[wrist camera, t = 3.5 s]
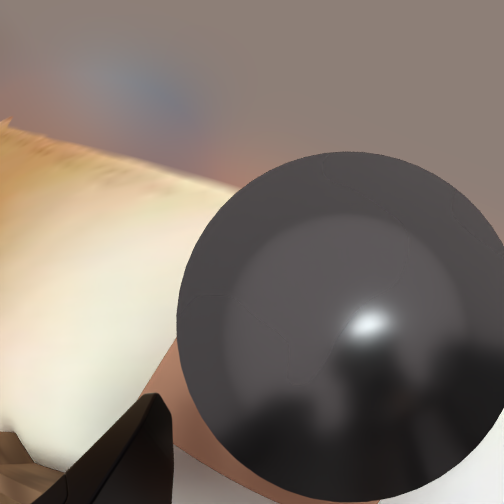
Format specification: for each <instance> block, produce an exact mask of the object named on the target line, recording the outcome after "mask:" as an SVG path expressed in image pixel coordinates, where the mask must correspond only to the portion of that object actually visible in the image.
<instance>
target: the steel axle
mask: <svg viewBox="0 0 504 504" xmlns="http://www.w3.org/2000/svg"><path fill="white" fill-rule="evenodd" d="M176 317H177V345H178V351H179V358H180V364H181V368H182V372H183V375H184V378H185V381H186V384H187V387H188V390H189V393H190V395H191V397H192V399H193V401H194V403H195V406H196V408H197V410H198V412H199V414H200V415H201V417H202V419H203V420H204V422H205V423H206V425H207V426H208V428H209V429H210V430H211V432H212V433H213V435H214V436H215V437H216V439H217V440H218V441H219V442H220V443H221V444H222V445H223V446H224V447H225V449H226V450H227V451H228V452H229V453H230V454H231V455H232V456H233V457H234V458H235V459H236V460H237V461H239V462H240V463H241V464H243V465H244V466H245V467H247V468H248V469H249V470H251V471H252V472H253V473H255V474H256V475H258V476H259V477H261V478H262V479H264V480H266V481H268V482H270V483H272V484H274V485H276V486H278V487H280V488H282V489H284V490H287V491H290V492H292V493H296V494H299V495H302V496H305V497H308V498H312V499H318V500H324V501H331V502H369V501H376V500H381V499H387V498H392V497H395V496H398V495H401V494H404V493H407V492H410V491H413V490H416V489H418V488H420V487H422V486H424V485H426V484H428V483H430V482H432V481H434V480H435V479H437V478H439V477H441V476H442V475H444V474H445V473H446V472H448V471H449V470H451V469H452V468H453V467H455V466H456V465H457V464H459V463H460V462H461V461H462V460H463V459H464V458H466V457H467V456H468V455H469V454H470V453H471V452H472V451H473V450H474V449H475V448H476V447H477V446H478V445H479V443H480V442H481V441H482V440H483V438H484V437H485V436H486V435H487V433H488V432H489V431H490V429H491V428H492V427H493V425H494V424H495V422H496V420H497V419H498V417H499V415H500V414H501V412H502V410H503V408H504V246H503V244H502V242H501V240H500V239H499V237H498V236H497V234H496V232H495V231H494V229H493V228H492V226H491V225H490V224H489V222H488V221H487V220H486V218H485V217H484V216H483V215H482V213H481V212H480V211H479V210H478V209H477V208H476V207H475V206H474V205H473V204H472V203H471V202H470V201H469V200H468V199H467V198H466V197H465V196H464V195H463V194H462V193H460V192H459V191H458V190H457V189H455V188H454V187H453V186H452V185H450V184H449V183H447V182H446V181H444V180H443V179H441V178H440V177H438V176H436V175H435V174H433V173H431V172H429V171H427V170H425V169H423V168H421V167H419V166H416V165H413V164H411V163H408V162H406V161H403V160H400V159H396V158H392V157H388V156H384V155H379V154H372V153H365V152H333V153H323V154H318V155H313V156H308V157H304V158H301V159H297V160H294V161H291V162H288V163H286V164H283V165H281V166H279V167H276V168H274V169H272V170H270V171H268V172H266V173H264V174H263V175H261V176H260V177H258V178H256V179H254V180H253V181H251V182H250V183H249V184H247V185H246V186H245V187H243V188H242V189H241V190H239V191H238V192H237V193H236V194H234V195H233V196H232V197H231V198H230V199H229V200H228V201H227V202H226V203H225V204H224V205H223V206H222V207H221V208H220V210H219V211H218V212H217V213H216V215H215V216H214V217H213V218H212V220H211V221H210V222H209V224H208V225H207V226H206V228H205V230H204V231H203V233H202V235H201V236H200V238H199V240H198V241H197V243H196V245H195V247H194V249H193V252H192V254H191V256H190V259H189V261H188V263H187V266H186V269H185V272H184V276H183V280H182V283H181V287H180V291H179V299H178V307H177V315H176Z"/></svg>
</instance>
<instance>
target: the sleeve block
mask: <svg viewBox="0 0 504 504" xmlns="http://www.w3.org/2000/svg"><path fill="white" fill-rule="evenodd" d="M154 392H156V393H159V394H160V395H161V397H162V399H163V400H164V402H165V404H166V405H167V407H168V409H169V410H170V412H171V415H172V425H173V444H174V445H176V446H177V447H179V448H180V449H182V450H183V451H185V452H186V453H188V454H189V455H191V456H192V457H194V458H195V459H197V460H199V461H200V462H202V463H203V464H205V465H207V466H208V467H210V468H212V469H213V470H215V471H217V472H218V473H220V474H222V475H224V476H225V477H227V478H229V479H231V480H233V481H235V482H236V483H238V484H240V485H242V486H244V487H246V488H248V489H250V490H252V491H254V492H256V493H258V494H260V495H262V496H264V497H266V498H269V499H271V500H273V501H275V502H278V503H280V504H378V502H379V501H380V500H376V501H369V502H331V501H324V500H318V499H312V498H308V497H305V496H302V495H299V494H296V493H292V492H290V491H287V490H284V489H282V488H280V487H278V486H276V485H274V484H272V483H270V482H268V481H266V480H264V479H262V478H261V477H259V476H258V475H256V474H255V473H253V472H252V471H251V470H249V469H248V468H247V467H245V466H244V465H243V464H241V463H240V462H239V461H237V460H236V459H235V458H234V457H233V456H232V455H231V454H230V453H229V452H228V451H227V450H226V449H225V447H224V446H223V445H222V444H221V443H220V442H219V441H218V440H217V439H216V437H215V436H214V435H213V433H212V432H211V430H210V429H209V428H208V426H207V425H206V423H205V422H204V420H203V419H202V417H201V415H200V414H199V412H198V410H197V408H196V406H195V403H194V401H193V399H192V397H191V395H190V393H189V390H188V387H187V384H186V381H185V378H184V375H183V372H182V368H181V364H180V358H179V351H178V345H177V337H176V339H175V341H174V342H173V344H172V345H171V347H170V348H169V350H168V352H167V353H166V355H165V356H164V358H163V360H162V361H161V363H160V364H159V366H158V368H157V369H156V371H155V372H154V374H153V375H152V377H151V379H150V380H149V382H148V383H147V385H146V387H145V388H144V390H143V392H142V393H141V395H140V396H139V398H140V397H141V396H142V395H143V394H146V393H154ZM139 398H138V399H139Z"/></svg>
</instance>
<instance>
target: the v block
mask: <svg viewBox="0 0 504 504" xmlns="http://www.w3.org/2000/svg"><path fill="white" fill-rule="evenodd" d="M63 474H66V473H63V472H60V471H57V470H53V469H50V468H47V467H44V466H41V465H38V464H36V463H34V462H33V460H32V459H31V457H30V456H29V454H28V453H27V451H26V450H25V448H24V446H23V445H22V443H21V442H20V440H19V438H18V437H17V435H16V433H12V432H0V504H30V503H32V502H33V501H34V500H36V499H37V498H38V497H39V496H40V495H42V494H43V493H44V492H45V491H46V490H47V489H49V488H50V487H51V486H52V485H53V484H54V483H55V482H56V481H57V480H58V479H59V478H60V477H61V476H62V475H63Z"/></svg>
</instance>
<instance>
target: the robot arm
mask: <svg viewBox="0 0 504 504" xmlns="http://www.w3.org/2000/svg"><path fill="white" fill-rule="evenodd" d="M173 473H174V453H173V425H172V415H171V412H170V410H169V409H168V407H167V405H166V404H165V402H164V400H163V399H162V397H161V395H160V394H159V393H156V392H154V393H146V394H143V395H142V396H141V397H140V398H139V399H138V400H137V401H136V402H135V403H134V404H133V405H132V406H131V407H130V408H129V409H128V410H127V411H126V412H125V413H124V414H123V415H122V416H121V417H120V418H119V420H118V421H117V422H116V423H115V424H114V425H113V426H112V427H111V428H110V429H109V430H108V431H107V432H106V433H105V434H104V435H103V436H102V437H101V438H100V439H99V440H98V441H97V442H96V443H95V444H94V445H93V446H92V447H91V448H90V449H89V450H88V451H87V452H86V453H85V454H84V455H83V456H82V457H81V458H80V459H79V460H78V461H77V462H76V463H75V464H74V465H73V466H72V467H71V468H70V469H68V470H67V471H66V474H63V475H62V476H61V477H60V478H59V479H58V480H57V481H56V482H55V483H54V484H53V485H52V486H51V487H50V488H49V489H47V490H46V491H45V492H44V493H43V494H42V495H40V496H39V497H38V498H37V499H36V500H34V501H33V502H32V503H30V504H172V488H173Z"/></svg>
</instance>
